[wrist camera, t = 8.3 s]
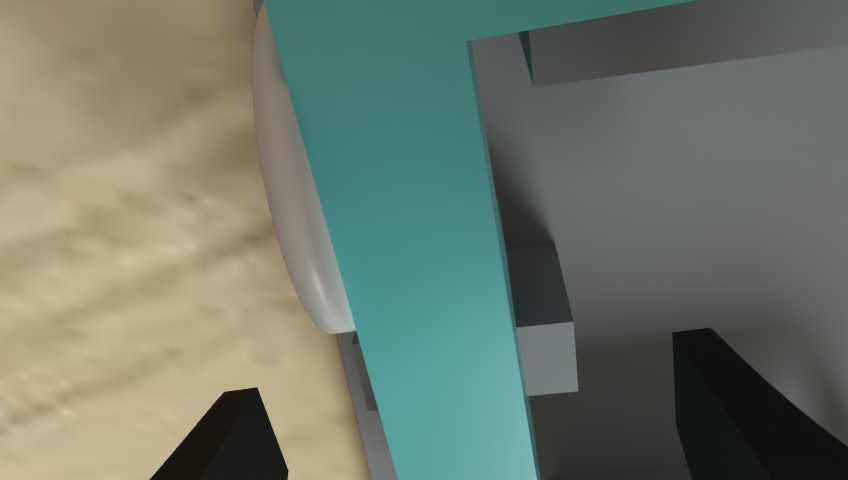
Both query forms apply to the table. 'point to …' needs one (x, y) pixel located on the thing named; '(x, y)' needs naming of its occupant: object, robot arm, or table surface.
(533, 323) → the display stand
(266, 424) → the robot arm
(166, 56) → the table surface
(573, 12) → the teal angled bar frame
